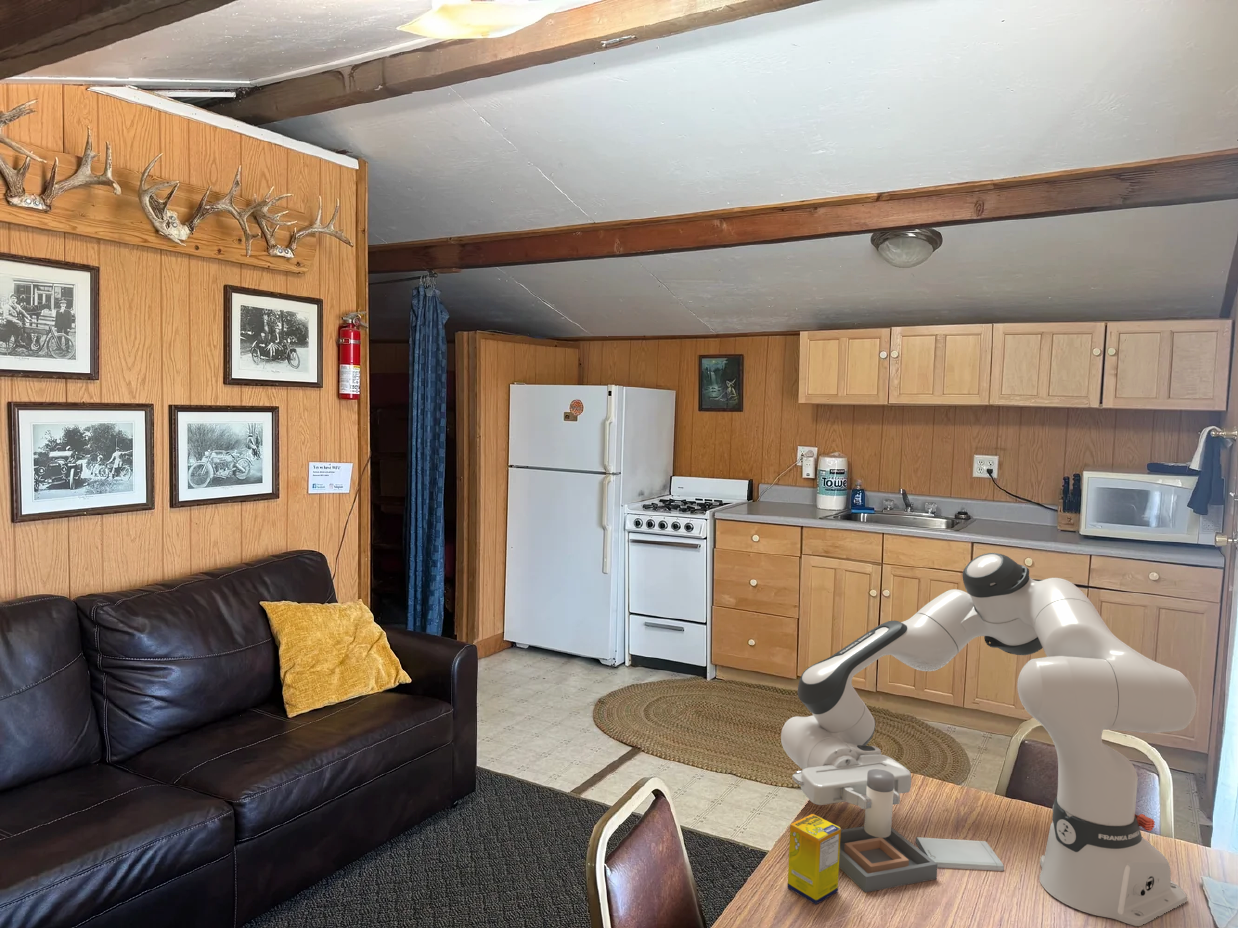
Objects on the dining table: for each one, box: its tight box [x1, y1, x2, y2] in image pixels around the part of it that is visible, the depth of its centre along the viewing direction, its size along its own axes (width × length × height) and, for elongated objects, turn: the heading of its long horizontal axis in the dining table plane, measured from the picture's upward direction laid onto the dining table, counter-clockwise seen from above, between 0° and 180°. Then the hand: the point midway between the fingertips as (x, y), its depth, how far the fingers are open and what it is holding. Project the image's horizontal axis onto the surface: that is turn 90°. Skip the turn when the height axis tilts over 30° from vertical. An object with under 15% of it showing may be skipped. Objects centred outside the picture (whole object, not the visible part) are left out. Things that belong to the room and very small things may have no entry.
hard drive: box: [915, 836, 1005, 872], centre depth 147 cm, size 2×8×12 cm
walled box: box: [839, 825, 938, 893], centre depth 144 cm, size 14×14×3 cm
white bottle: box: [863, 769, 894, 838], centre depth 143 cm, size 4×4×10 cm
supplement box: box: [787, 813, 842, 905], centre depth 135 cm, size 6×6×11 cm
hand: (882, 802), depth 143 cm, fingers closed on white bottle, 4 cm apart
